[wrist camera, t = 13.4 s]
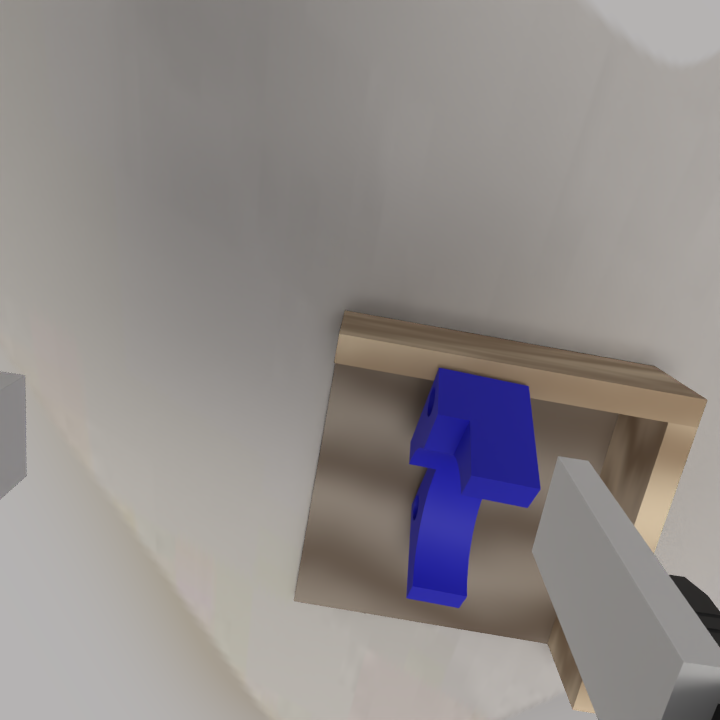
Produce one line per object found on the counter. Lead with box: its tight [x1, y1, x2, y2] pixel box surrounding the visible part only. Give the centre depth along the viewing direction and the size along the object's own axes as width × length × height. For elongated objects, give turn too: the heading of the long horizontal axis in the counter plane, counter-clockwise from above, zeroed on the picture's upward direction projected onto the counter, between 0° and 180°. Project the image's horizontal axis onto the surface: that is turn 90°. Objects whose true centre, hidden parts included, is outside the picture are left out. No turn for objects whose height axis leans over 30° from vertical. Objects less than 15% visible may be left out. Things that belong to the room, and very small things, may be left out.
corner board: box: [294, 310, 707, 714], centre depth 36 cm, size 20×18×6 cm
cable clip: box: [406, 368, 541, 608], centre depth 32 cm, size 12×4×6 cm, turn 168°
